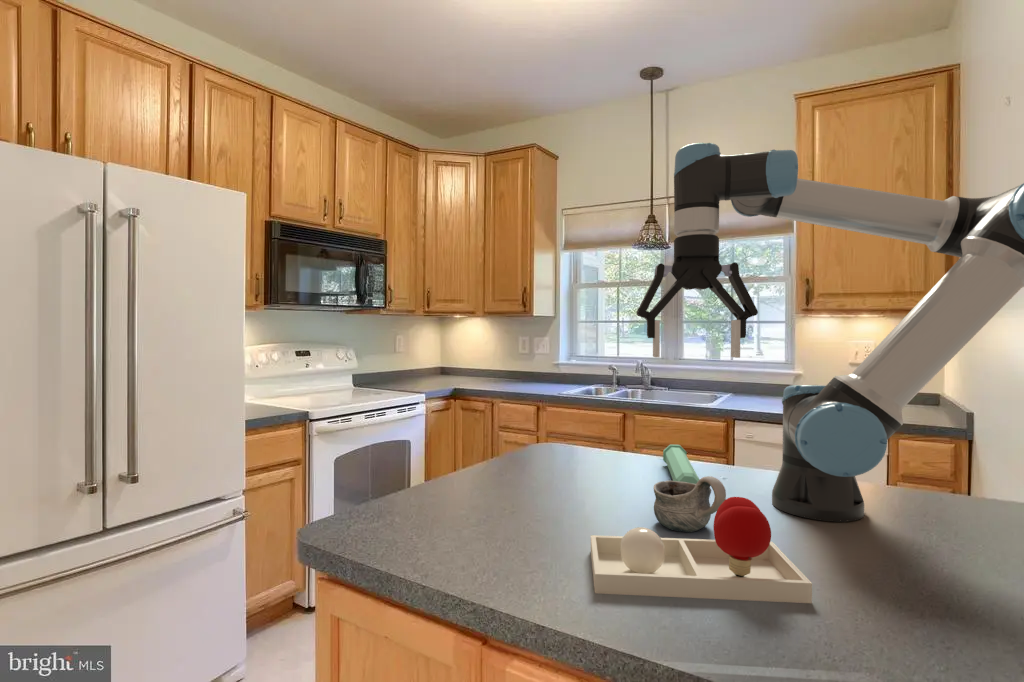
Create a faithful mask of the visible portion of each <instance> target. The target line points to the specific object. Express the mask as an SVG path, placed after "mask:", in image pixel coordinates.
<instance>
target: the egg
mask: <svg viewBox="0 0 1024 682" xmlns="http://www.w3.org/2000/svg"><path fill="white" fill-rule="evenodd" d="M623 536H624V537H623V538H622V540H621V544H620V554H621V558H622V560H623V562H624V564H625V565H626V566H627V567H628V568H629V569H630V570H632V571H633V572H635V573H640V574H651V573H653V572H655V571H657V570H658V569H659V568H660V567H661V565H662V564H663V561H664V558H665V547H664V544H663V542H662V540H661V538H662V537H661V536H659V535H658V533H656V532H655V531H654V530H653V529H650V528H648V527H644V526H641V527H634V528H631V529H630V530H628V531H627V532H626V533H625V534H624V535H623Z"/></svg>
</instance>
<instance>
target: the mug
mask: <svg viewBox="0 0 1024 682" xmlns="http://www.w3.org/2000/svg"><path fill="white" fill-rule="evenodd" d="M699 479H700V480H699V481H698V482H697V483H696V484H692V483H687V482H679V481H673V480H664V481H659V482H658V481H657V482H656V483H654V485H653V493H654V496H655V500H654V506H653V513H654V515H655V518H656V520H657V522H658V523H659V524H661V525H662V526H663V527H665V528H666V529H669V530H672V531H673V532H674V531H677V532H681V533H682V532H683V533H694V532H697V531H699V530H701V529H702V528H705V527H706V526H707V525H708V524H709V521H710V519H711V516H712V515H713V514H714V513H715V514H716V512H717V510H718V508H719V506H720V505H721V504H722V503H723V502H724V501H725V500H726V499H727V493H726V492H727V491H726V488H725V486H724V484H723V482H722V481H721V480H720V479H719V478H717V477H714V476H711V475H710V476H702V477H701V478H699ZM712 491H713V494H714V500H713V502H712V504H711V503H710V498H711V497H710V496H711V493H712Z"/></svg>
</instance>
